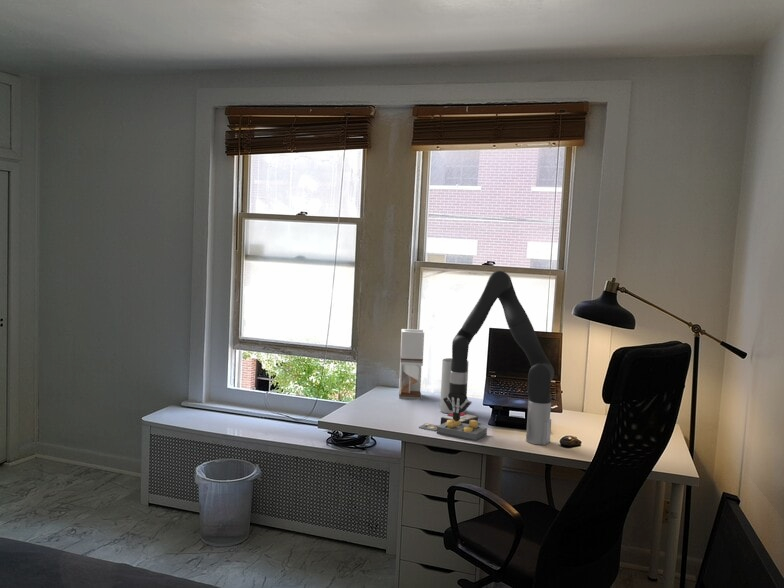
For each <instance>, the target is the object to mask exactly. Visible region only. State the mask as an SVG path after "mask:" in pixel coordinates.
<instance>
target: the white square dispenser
mask: <svg viewBox="0 0 784 588" xmlns="http://www.w3.org/2000/svg"><path fill="white" fill-rule="evenodd" d="M400 331H401V334H400V336H401V337H400V357H399V359H400V360H399V362H400V363H399V378H398V379H399V380H398V381H399V382H398V399H399V400H400V399H401V400H419V401H421V400H422V393H421V388H422V387H421V385H422V367H423V365H424V344H425V332H424V329H415V328H414V329H412V328H401V330H400Z"/></svg>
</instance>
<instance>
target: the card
mask: <svg viewBox="0 0 784 588" xmlns="http://www.w3.org/2000/svg"><path fill="white" fill-rule="evenodd" d="M437 426H439V425H438V424H433V423H427V422H425V423H424V424H422V425H419V426H418V429H421V430H428V431H432V432H437Z"/></svg>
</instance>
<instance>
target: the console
mask: <svg viewBox="0 0 784 588" xmlns="http://www.w3.org/2000/svg"><path fill="white" fill-rule="evenodd" d="M464 427H469V424H465V423H461V424H460V426H456V425H455V428H454V429H450V428H447V422H445V423H443V424H441V423H440V424H439V425H438V426H437V431H436V434H438V435H443V436H448V437H453V438H456V439H457V438H458V439H462V440H466V441H471V442H477V441H479V440H480V439H482V438H484V437H485V436H487V434H488V427H485V426H480V425H478V429H472V432H466V431H464Z"/></svg>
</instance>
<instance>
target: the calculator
mask: <svg viewBox="0 0 784 588" xmlns="http://www.w3.org/2000/svg"><path fill="white" fill-rule="evenodd" d="M447 420H454V419H453V414H447V415H444V416H441V417H440V425H441V424H443V423H445V422H447ZM470 420H476V421H478V422H479V417H477V416H476V415H474V414H467V413H460V421H461V423H465V424H469V421H470Z"/></svg>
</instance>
